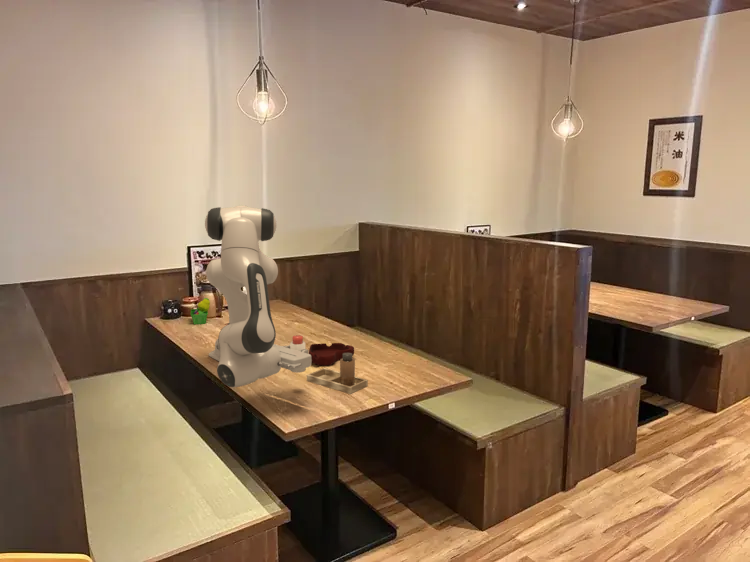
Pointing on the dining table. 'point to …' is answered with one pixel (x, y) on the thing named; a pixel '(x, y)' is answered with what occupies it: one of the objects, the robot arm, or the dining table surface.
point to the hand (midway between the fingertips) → (299, 349)
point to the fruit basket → (200, 312)
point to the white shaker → (298, 347)
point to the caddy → (335, 380)
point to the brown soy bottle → (347, 370)
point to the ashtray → (328, 353)
